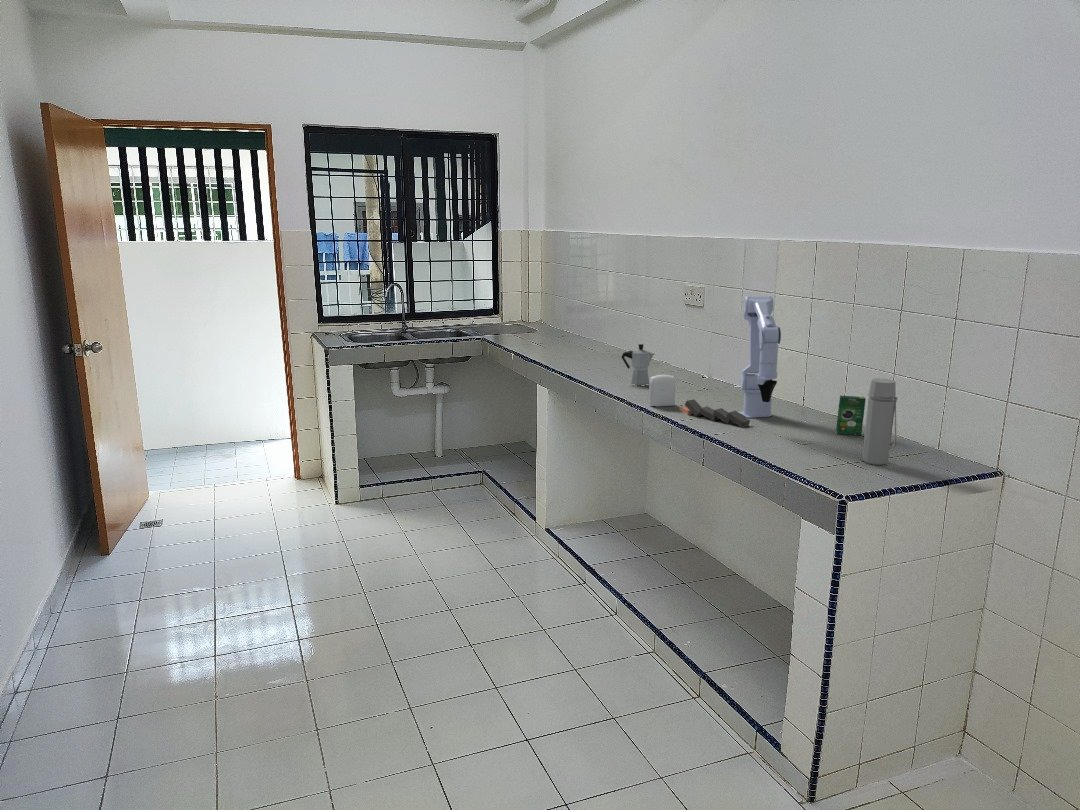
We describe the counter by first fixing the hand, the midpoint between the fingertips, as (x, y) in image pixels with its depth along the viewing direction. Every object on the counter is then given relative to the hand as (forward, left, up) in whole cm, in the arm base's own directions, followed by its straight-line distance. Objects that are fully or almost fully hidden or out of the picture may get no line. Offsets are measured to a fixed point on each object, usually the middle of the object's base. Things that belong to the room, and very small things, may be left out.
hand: (765, 401), depth 263 cm
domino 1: (+14, -24, -10) cm, 29 cm away
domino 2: (+10, -17, -10) cm, 22 cm away
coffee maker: (+19, -84, -11) cm, 87 cm away
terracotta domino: (+16, -27, -10) cm, 33 cm away
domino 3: (+7, -12, -10) cm, 17 cm away
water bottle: (-17, +40, -11) cm, 45 cm away
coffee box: (-26, +10, -11) cm, 30 cm away
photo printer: (+22, -43, -11) cm, 50 cm away
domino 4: (+4, -7, -10) cm, 12 cm away
